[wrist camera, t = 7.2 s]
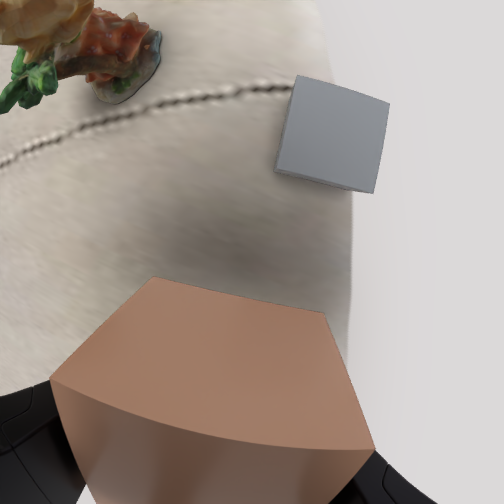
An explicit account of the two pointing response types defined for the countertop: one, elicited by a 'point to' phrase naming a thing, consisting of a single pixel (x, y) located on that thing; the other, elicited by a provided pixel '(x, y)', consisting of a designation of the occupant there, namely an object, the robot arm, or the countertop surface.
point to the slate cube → (332, 136)
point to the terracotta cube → (211, 403)
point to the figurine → (74, 50)
